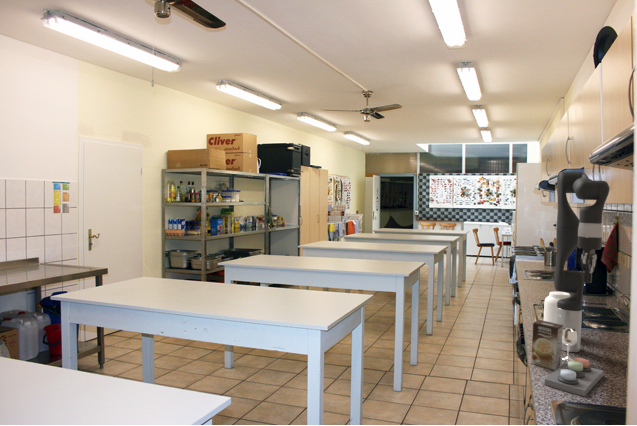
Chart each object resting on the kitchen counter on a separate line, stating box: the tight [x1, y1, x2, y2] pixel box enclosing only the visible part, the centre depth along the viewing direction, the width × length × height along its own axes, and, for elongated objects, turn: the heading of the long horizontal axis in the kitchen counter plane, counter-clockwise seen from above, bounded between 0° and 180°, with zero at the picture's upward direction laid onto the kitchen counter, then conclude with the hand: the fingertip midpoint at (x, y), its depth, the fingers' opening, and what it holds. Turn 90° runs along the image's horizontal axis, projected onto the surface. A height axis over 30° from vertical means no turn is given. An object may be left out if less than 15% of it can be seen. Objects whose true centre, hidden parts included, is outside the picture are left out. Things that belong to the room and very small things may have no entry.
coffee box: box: [530, 319, 563, 371], centre depth 171 cm, size 9×6×16 cm
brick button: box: [573, 357, 590, 368], centre depth 163 cm, size 5×5×2 cm
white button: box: [560, 369, 576, 381], centre depth 151 cm, size 5×5×2 cm
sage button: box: [567, 361, 583, 371], centre depth 157 cm, size 5×5×2 cm
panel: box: [544, 361, 604, 397], centre depth 157 cm, size 24×12×3 cm, turn 135°
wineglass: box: [561, 328, 577, 362], centre depth 177 cm, size 6×6×12 cm
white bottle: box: [543, 290, 571, 323], centre depth 209 cm, size 12×12×20 cm
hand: (587, 282), depth 164 cm, fingers closed
